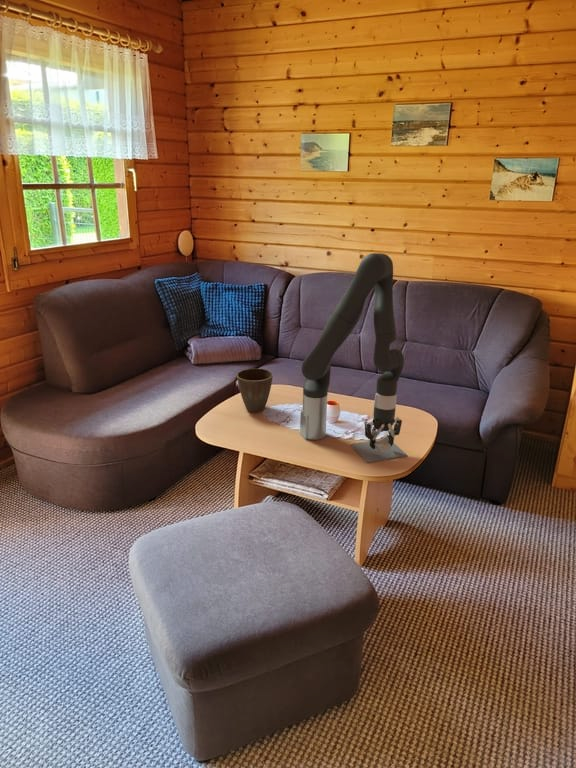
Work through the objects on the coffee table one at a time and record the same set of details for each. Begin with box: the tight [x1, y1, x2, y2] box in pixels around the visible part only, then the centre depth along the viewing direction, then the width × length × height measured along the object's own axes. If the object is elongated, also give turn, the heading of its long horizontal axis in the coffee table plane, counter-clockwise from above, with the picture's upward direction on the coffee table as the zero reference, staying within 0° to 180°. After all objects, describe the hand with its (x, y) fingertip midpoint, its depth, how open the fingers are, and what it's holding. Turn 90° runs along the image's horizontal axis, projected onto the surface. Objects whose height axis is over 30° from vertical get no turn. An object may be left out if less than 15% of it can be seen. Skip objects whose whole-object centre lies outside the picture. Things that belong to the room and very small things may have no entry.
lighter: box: [374, 431, 391, 453], centre depth 198 cm, size 7×2×8 cm
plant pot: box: [236, 368, 274, 414], centre depth 234 cm, size 15×15×16 cm
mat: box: [349, 438, 408, 464], centre depth 204 cm, size 16×14×1 cm
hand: (381, 446), depth 201 cm, fingers closed on lighter, 6 cm apart
